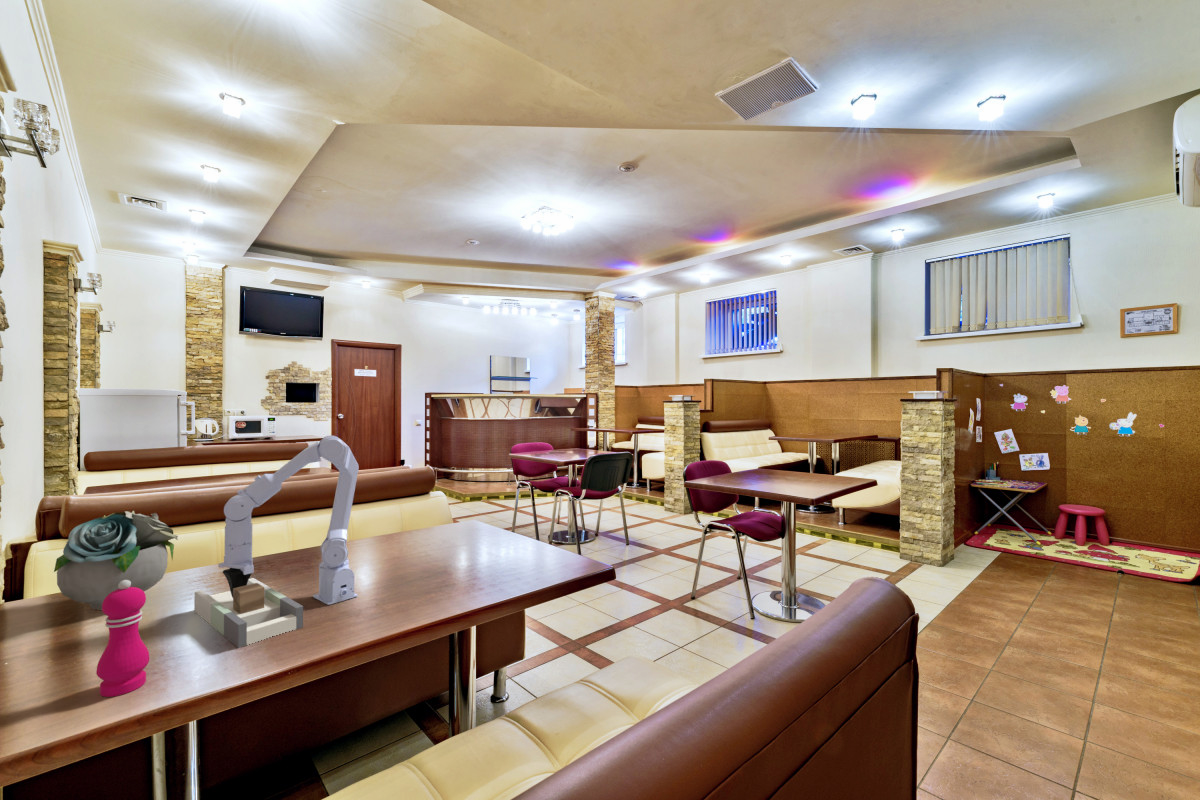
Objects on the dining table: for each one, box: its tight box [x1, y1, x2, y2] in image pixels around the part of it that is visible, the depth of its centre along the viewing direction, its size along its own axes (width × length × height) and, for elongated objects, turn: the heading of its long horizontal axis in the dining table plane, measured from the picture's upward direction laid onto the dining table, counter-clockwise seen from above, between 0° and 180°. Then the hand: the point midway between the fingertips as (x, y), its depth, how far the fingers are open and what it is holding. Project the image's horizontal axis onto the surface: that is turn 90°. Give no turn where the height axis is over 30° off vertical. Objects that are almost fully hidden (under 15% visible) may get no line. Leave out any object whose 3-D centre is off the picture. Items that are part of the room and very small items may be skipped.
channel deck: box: [193, 577, 304, 649], centre depth 124 cm, size 32×13×5 cm, turn 52°
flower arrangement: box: [53, 510, 179, 611], centre depth 133 cm, size 25×25×24 cm
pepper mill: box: [95, 580, 150, 698], centre depth 94 cm, size 7×7×20 cm
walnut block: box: [233, 583, 264, 614], centre depth 123 cm, size 5×5×5 cm
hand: (237, 596), depth 128 cm, fingers closed
